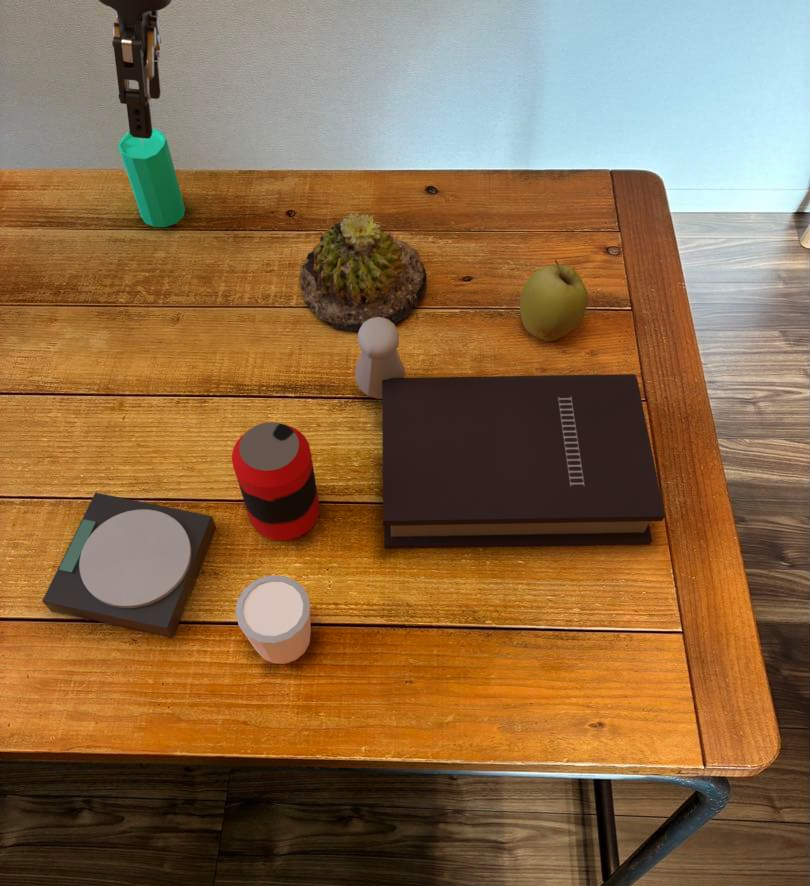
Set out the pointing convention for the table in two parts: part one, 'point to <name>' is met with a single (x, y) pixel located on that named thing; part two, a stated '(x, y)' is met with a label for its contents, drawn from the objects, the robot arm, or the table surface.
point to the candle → (152, 178)
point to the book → (517, 462)
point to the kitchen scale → (131, 564)
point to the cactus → (361, 275)
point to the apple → (553, 302)
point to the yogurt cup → (275, 618)
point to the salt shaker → (377, 356)
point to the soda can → (277, 480)
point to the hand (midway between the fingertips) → (146, 116)
